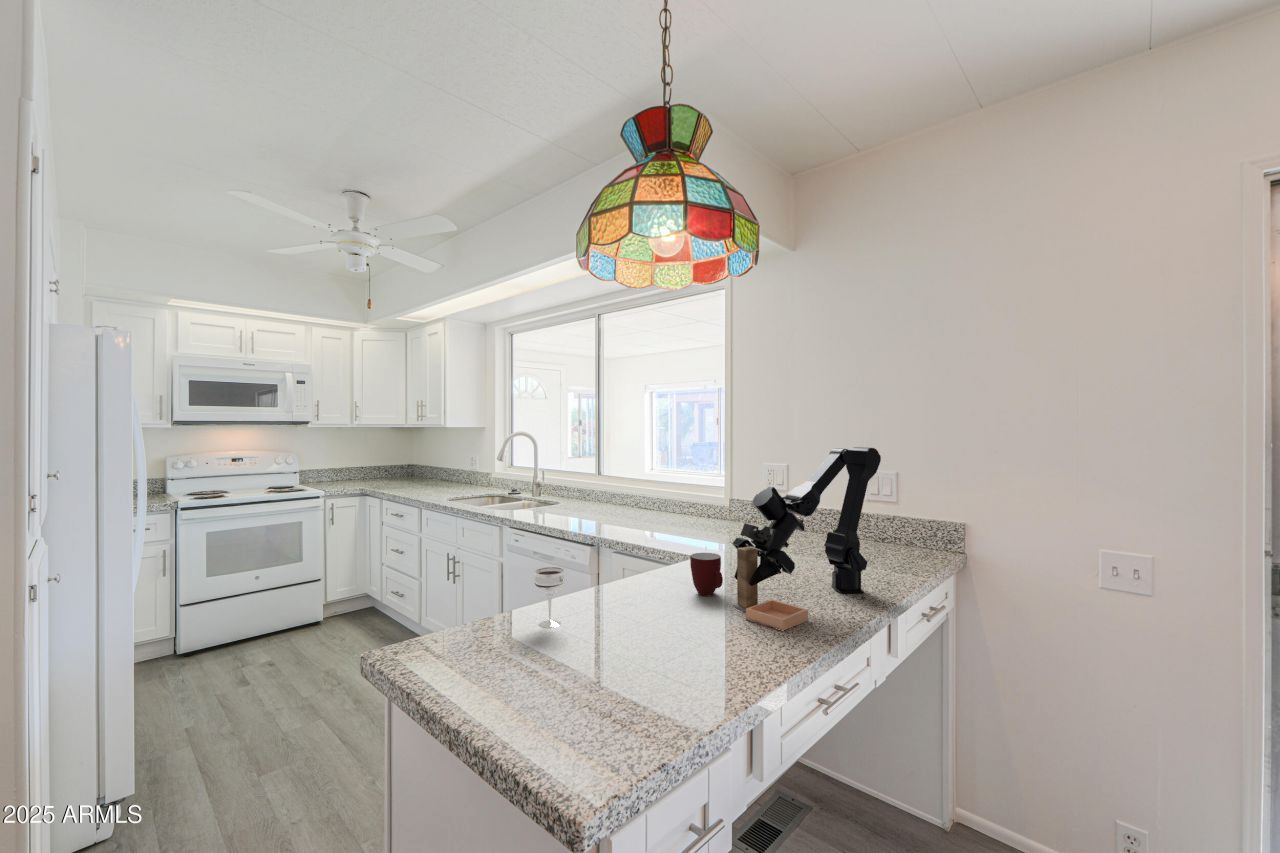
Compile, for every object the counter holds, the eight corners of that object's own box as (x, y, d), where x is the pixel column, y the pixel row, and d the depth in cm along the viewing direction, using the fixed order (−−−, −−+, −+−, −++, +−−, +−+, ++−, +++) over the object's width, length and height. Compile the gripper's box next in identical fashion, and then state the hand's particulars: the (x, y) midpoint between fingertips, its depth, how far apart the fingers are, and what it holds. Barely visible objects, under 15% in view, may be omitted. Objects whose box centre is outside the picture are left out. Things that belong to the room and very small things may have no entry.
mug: (734, 596, 143) (734, 558, 142) (712, 602, 138) (712, 563, 138) (705, 587, 151) (705, 551, 151) (684, 592, 146) (684, 555, 146)
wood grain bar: (749, 603, 137) (749, 545, 137) (762, 609, 133) (761, 549, 133) (733, 606, 135) (732, 547, 135) (745, 612, 130) (744, 552, 130)
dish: (771, 609, 132) (771, 599, 132) (808, 620, 125) (808, 609, 125) (745, 619, 126) (745, 608, 126) (783, 631, 118) (783, 620, 118)
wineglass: (566, 627, 121) (566, 573, 121) (535, 630, 120) (535, 576, 120) (563, 617, 128) (562, 566, 128) (533, 619, 126) (533, 568, 126)
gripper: (738, 506, 144) (702, 552, 139) (784, 517, 127) (745, 570, 122) (762, 533, 147) (728, 579, 143) (811, 547, 130) (774, 600, 126)
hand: (742, 581), depth 133 cm, fingers open, 6 cm apart
